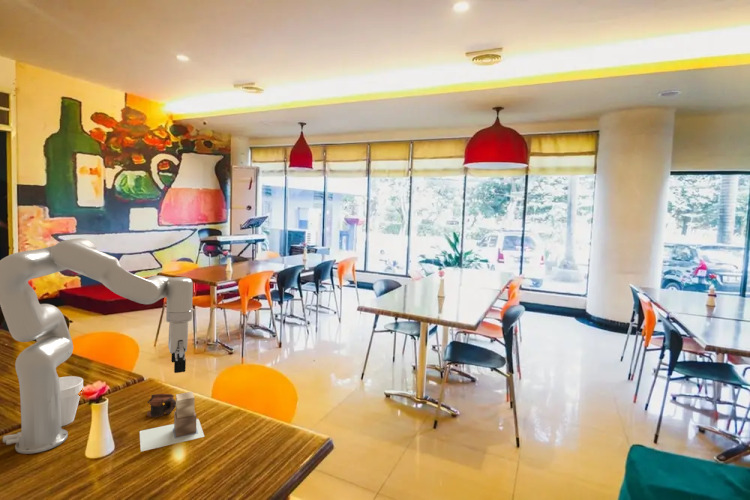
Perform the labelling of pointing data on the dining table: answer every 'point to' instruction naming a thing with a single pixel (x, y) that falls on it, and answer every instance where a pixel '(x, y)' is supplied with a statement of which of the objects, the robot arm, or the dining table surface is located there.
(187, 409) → the maple block
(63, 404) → the cup
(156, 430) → the white rectangular board
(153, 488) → the dining table surface
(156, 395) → the pottery mug
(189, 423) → the walnut cube
